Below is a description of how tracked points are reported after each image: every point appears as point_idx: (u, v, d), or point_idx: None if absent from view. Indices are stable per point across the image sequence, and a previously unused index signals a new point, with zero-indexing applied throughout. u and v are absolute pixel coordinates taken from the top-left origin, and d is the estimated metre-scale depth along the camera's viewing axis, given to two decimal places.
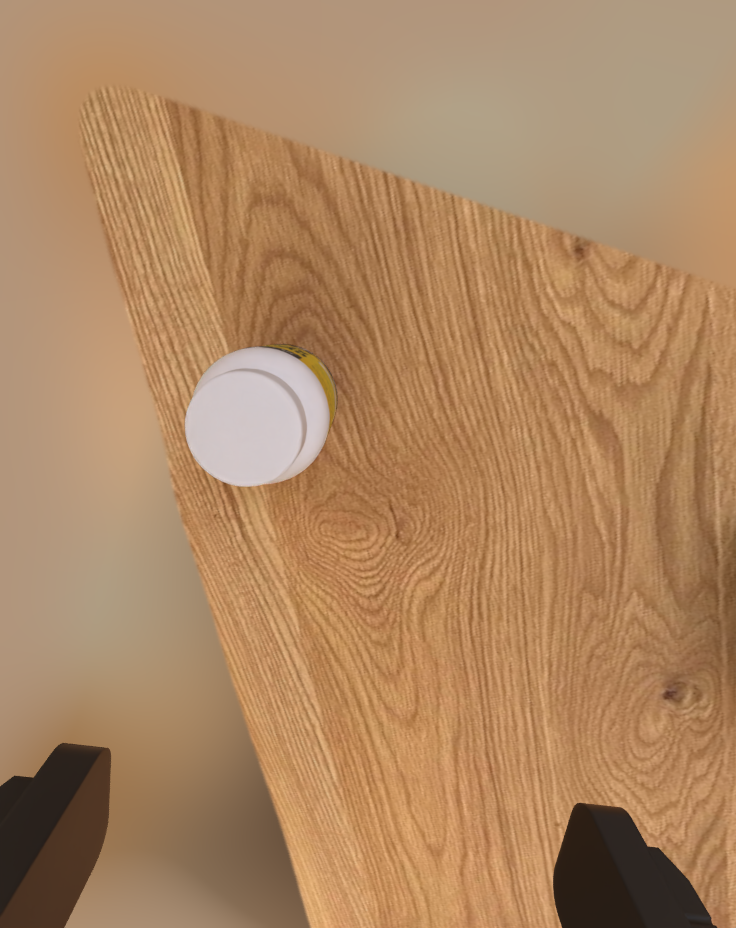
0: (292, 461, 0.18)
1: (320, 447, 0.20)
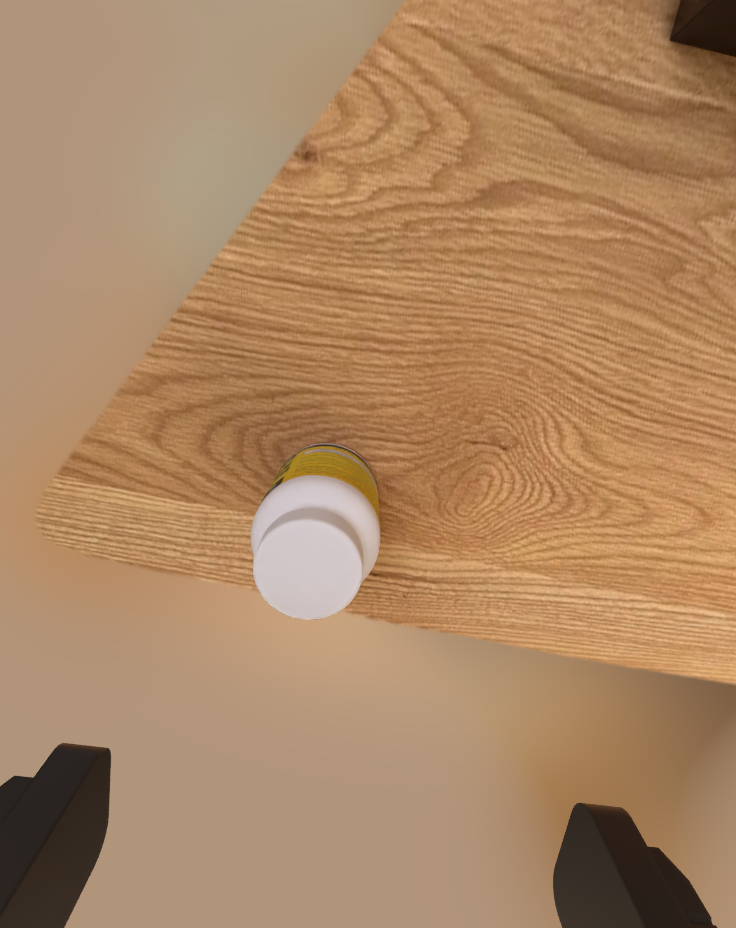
0: (352, 544, 0.19)
1: (363, 503, 0.21)
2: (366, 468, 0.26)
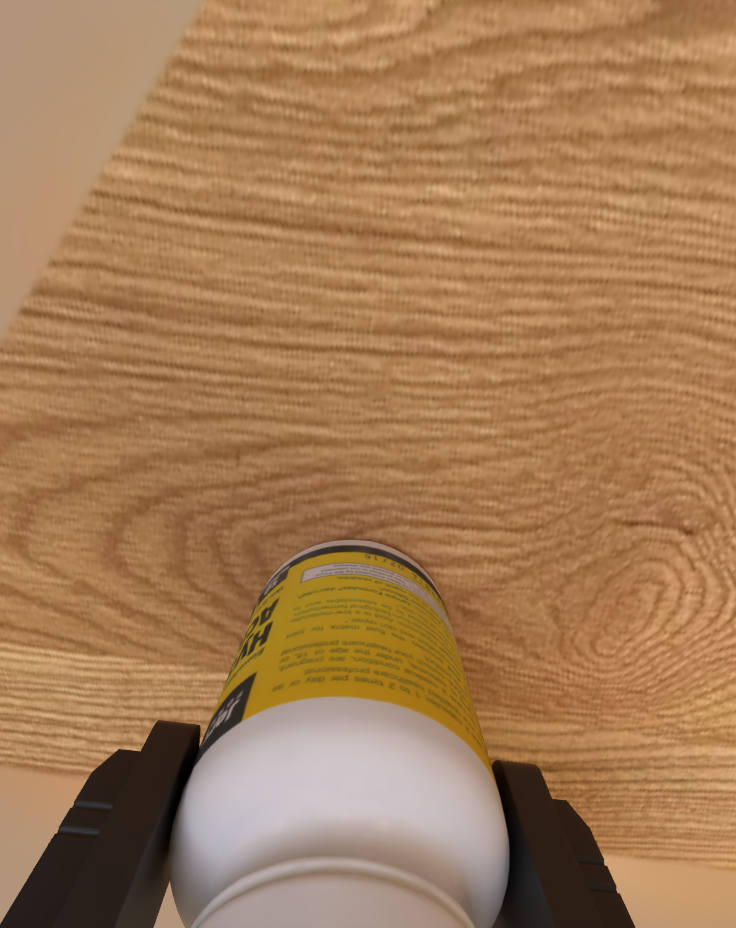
0: None
1: (468, 778, 0.08)
2: (432, 597, 0.13)
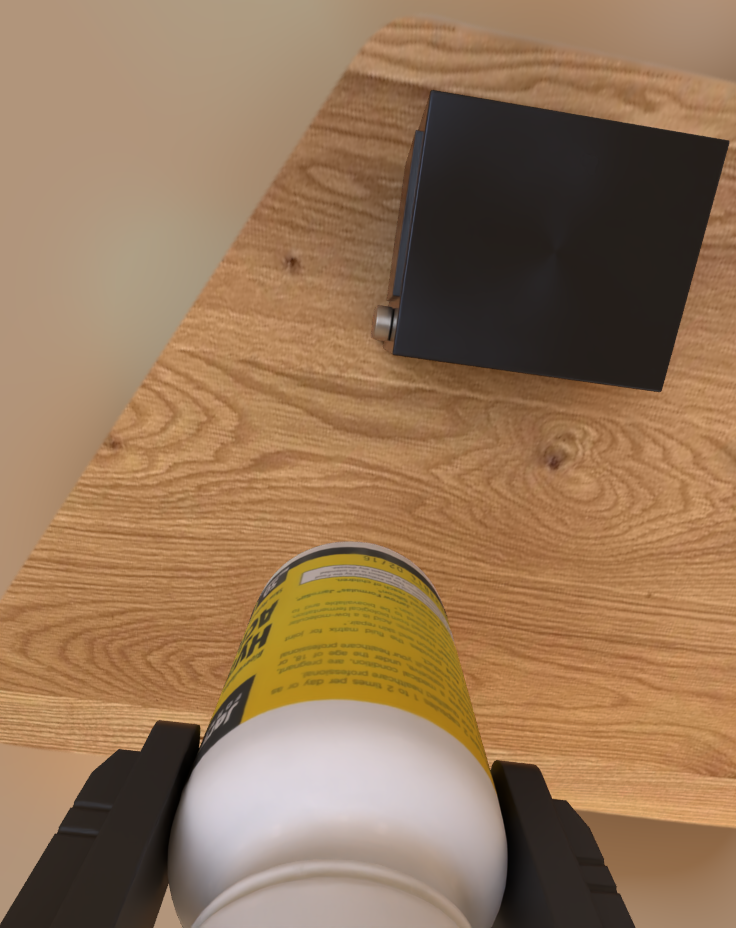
0: None
1: (466, 781, 0.08)
2: (431, 599, 0.13)
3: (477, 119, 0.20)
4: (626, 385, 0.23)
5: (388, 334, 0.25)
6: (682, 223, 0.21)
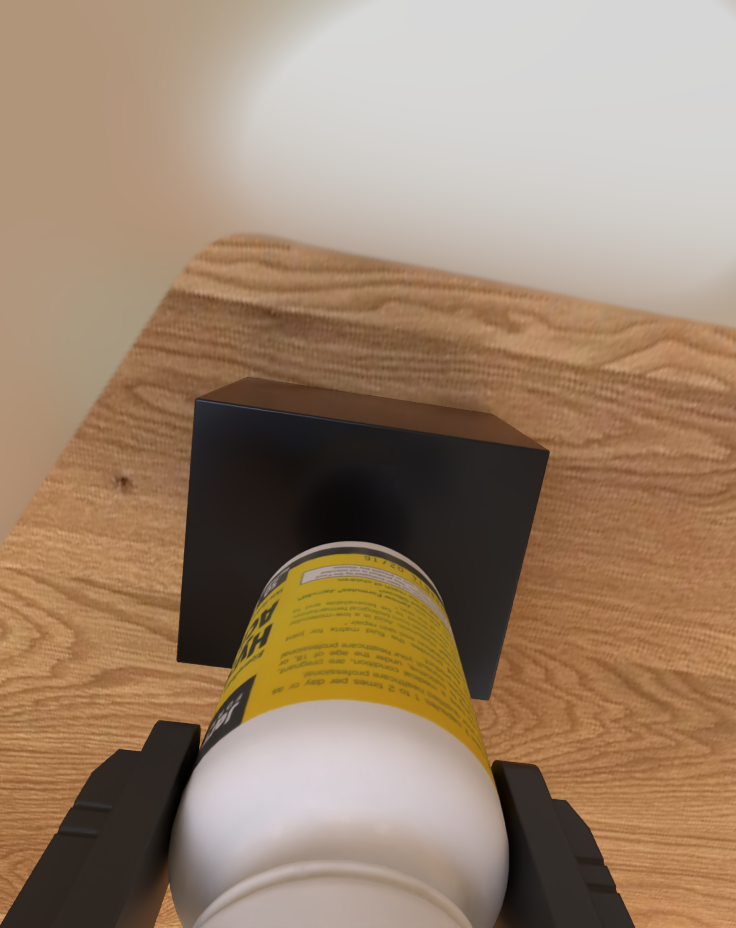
0: None
1: (468, 781, 0.08)
2: (431, 598, 0.13)
3: (252, 429, 0.17)
4: None
5: None
6: (500, 534, 0.18)
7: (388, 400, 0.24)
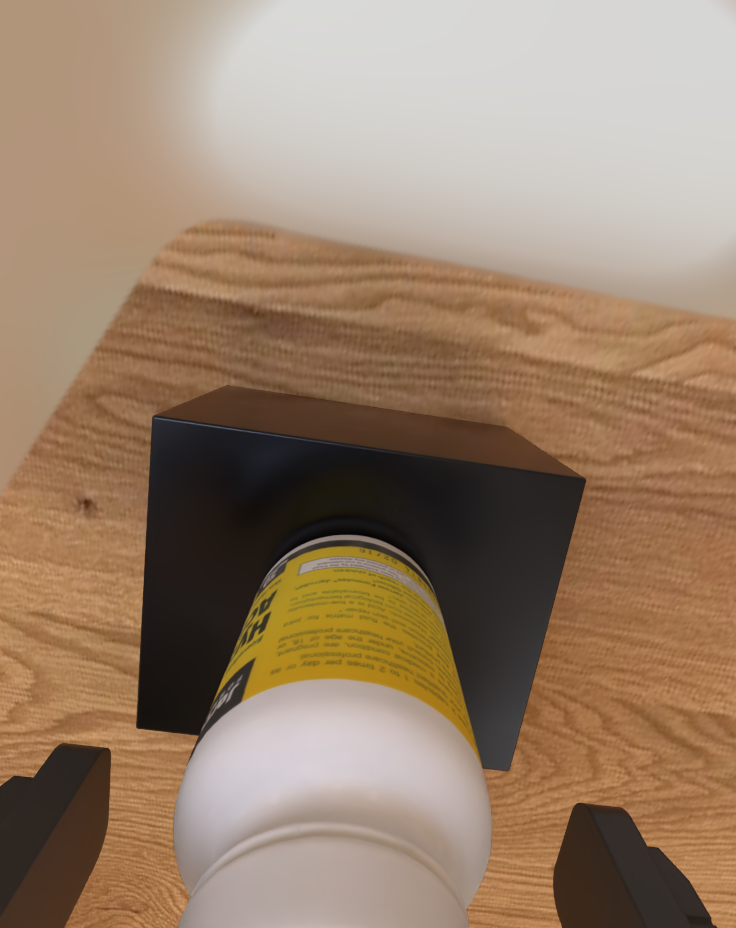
0: None
1: (453, 754, 0.08)
2: (424, 589, 0.13)
3: (222, 452, 0.14)
4: None
5: None
6: (524, 578, 0.15)
7: (388, 412, 0.21)
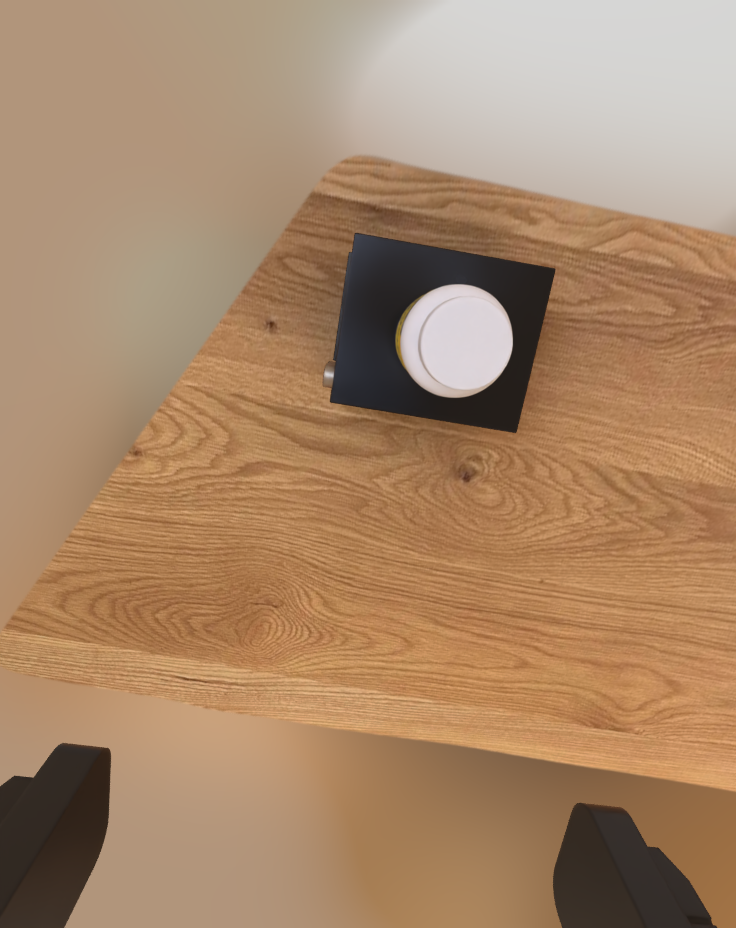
0: (505, 318, 0.22)
1: (500, 304, 0.25)
2: None
3: (385, 252, 0.31)
4: (491, 427, 0.33)
5: None
6: (525, 321, 0.32)
7: None
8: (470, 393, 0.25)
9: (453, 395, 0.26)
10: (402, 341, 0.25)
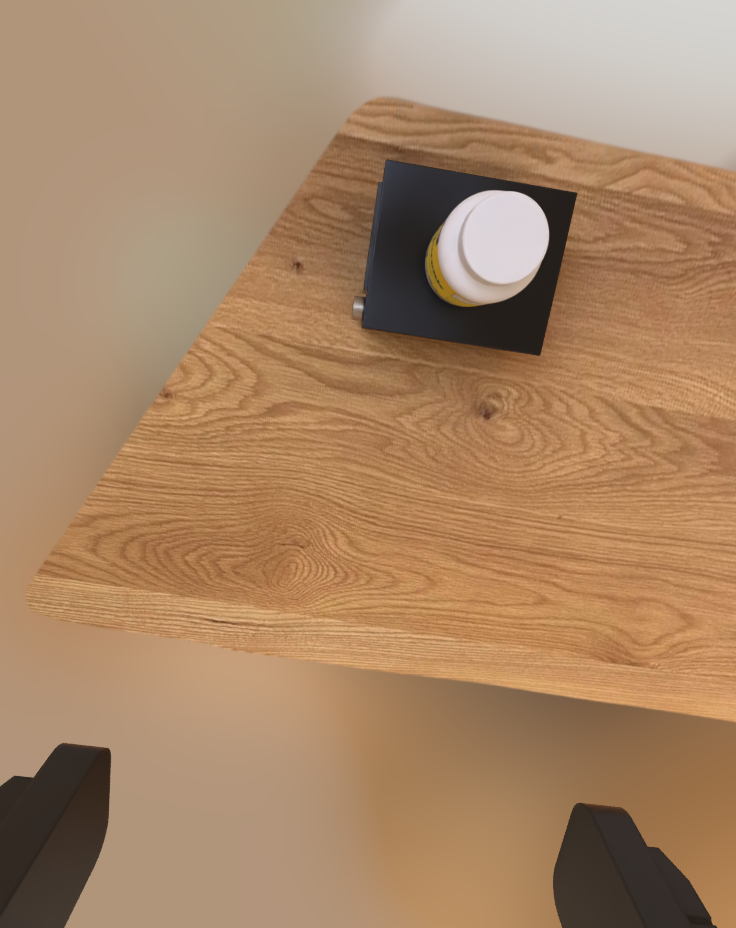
0: (542, 212, 0.24)
1: None
2: None
3: (415, 178, 0.32)
4: (516, 350, 0.35)
5: (361, 315, 0.37)
6: (549, 244, 0.33)
7: None
8: (505, 296, 0.27)
9: (489, 298, 0.27)
10: (440, 246, 0.26)
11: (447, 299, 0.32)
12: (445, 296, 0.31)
